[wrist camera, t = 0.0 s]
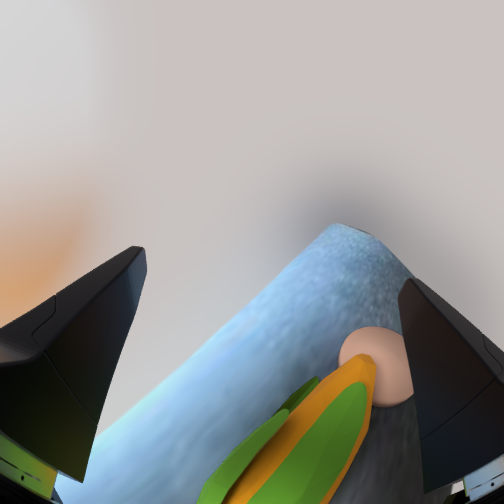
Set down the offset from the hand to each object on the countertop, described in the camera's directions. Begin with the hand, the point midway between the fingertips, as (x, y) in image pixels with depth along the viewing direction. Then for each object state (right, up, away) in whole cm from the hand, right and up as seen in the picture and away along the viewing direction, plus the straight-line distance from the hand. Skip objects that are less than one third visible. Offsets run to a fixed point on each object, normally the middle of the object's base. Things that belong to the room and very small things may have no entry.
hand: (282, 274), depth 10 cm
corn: (+2, -15, +9) cm, 17 cm away
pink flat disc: (+11, -11, +16) cm, 22 cm away
